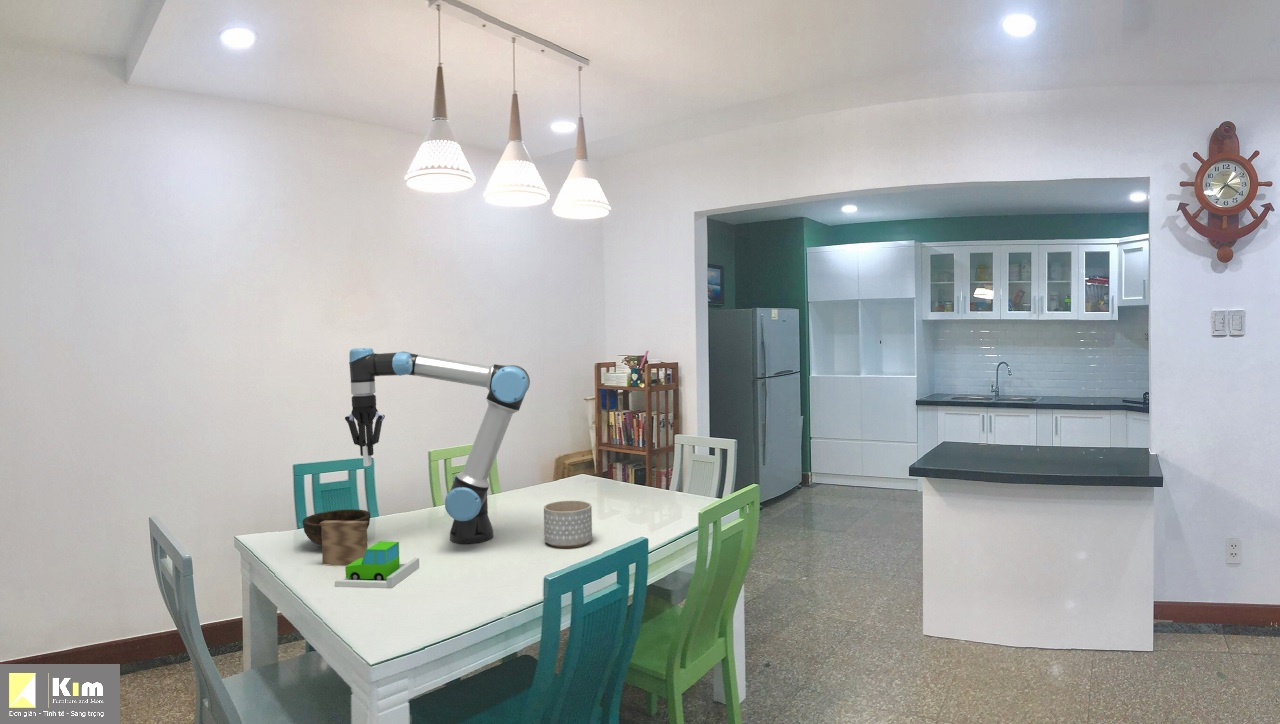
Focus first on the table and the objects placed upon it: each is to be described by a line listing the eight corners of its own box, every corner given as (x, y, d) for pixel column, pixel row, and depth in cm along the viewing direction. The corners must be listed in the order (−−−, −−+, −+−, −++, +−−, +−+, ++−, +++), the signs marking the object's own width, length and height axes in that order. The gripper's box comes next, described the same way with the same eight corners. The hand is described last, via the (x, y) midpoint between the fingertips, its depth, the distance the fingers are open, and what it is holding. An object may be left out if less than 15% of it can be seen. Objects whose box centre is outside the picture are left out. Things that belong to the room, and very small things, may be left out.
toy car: (360, 571, 219) (359, 539, 219) (401, 573, 217) (400, 540, 217) (342, 583, 209) (341, 549, 209) (385, 584, 207) (384, 550, 207)
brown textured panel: (369, 563, 227) (368, 521, 227) (364, 566, 224) (363, 523, 224) (326, 562, 229) (324, 520, 229) (321, 565, 226) (319, 522, 226)
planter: (602, 541, 247) (601, 505, 246) (566, 552, 235) (565, 514, 234) (570, 533, 258) (569, 498, 257) (534, 543, 246) (533, 506, 245)
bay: (419, 567, 222) (419, 558, 222) (391, 588, 204) (391, 577, 204) (366, 566, 224) (366, 556, 224) (334, 586, 206) (334, 576, 206)
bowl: (304, 558, 233) (303, 528, 233) (302, 542, 253) (301, 514, 252) (375, 548, 243) (374, 519, 243) (367, 533, 263) (366, 506, 262)
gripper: (387, 393, 239) (391, 462, 240) (350, 394, 240) (354, 463, 241) (377, 395, 231) (381, 467, 232) (339, 396, 232) (343, 468, 233)
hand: (367, 465), depth 237 cm, fingers closed
